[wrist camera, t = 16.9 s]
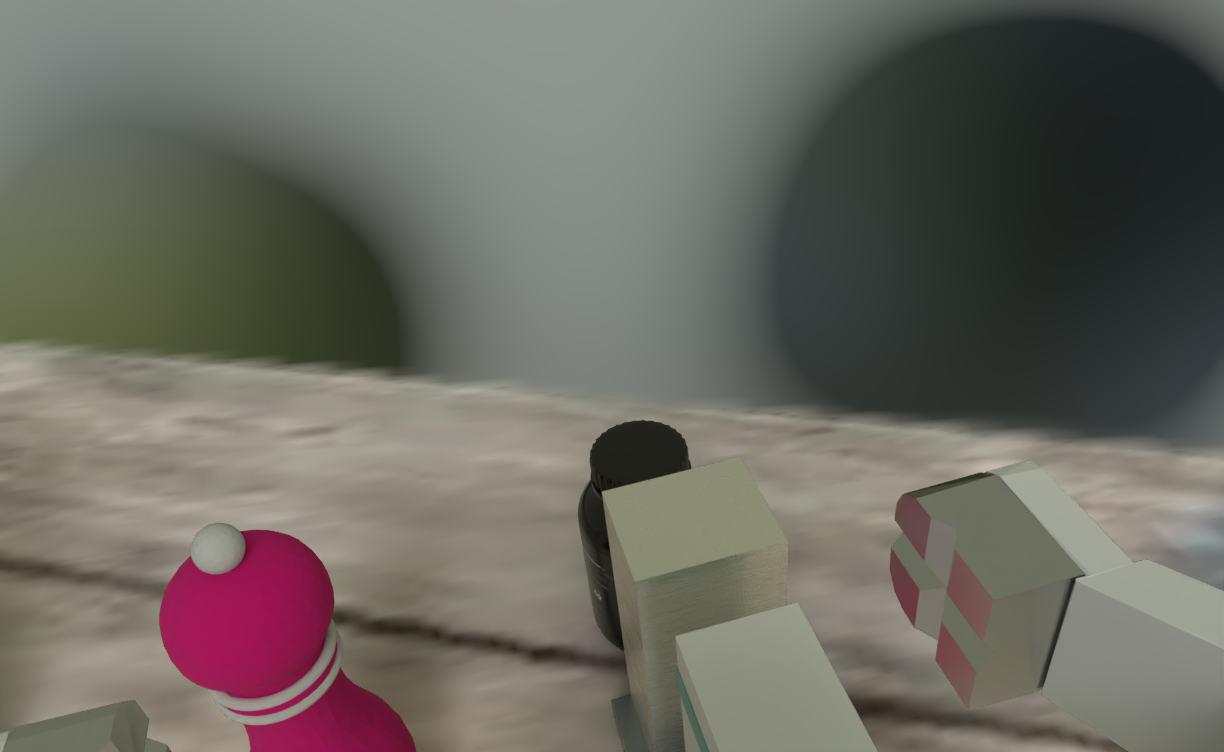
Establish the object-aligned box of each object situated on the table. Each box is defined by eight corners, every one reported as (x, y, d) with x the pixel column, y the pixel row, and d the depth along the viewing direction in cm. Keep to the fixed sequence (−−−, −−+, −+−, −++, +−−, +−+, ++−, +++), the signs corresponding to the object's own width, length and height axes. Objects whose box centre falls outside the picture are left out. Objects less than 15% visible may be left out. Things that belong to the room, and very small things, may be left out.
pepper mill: (447, 751, 46) (337, 453, 35) (422, 904, 41) (281, 609, 29) (305, 758, 47) (149, 466, 35) (262, 911, 41) (57, 622, 29)
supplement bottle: (578, 588, 54) (549, 431, 47) (685, 549, 56) (673, 391, 48) (621, 680, 49) (597, 519, 42) (738, 634, 50) (734, 471, 43)
